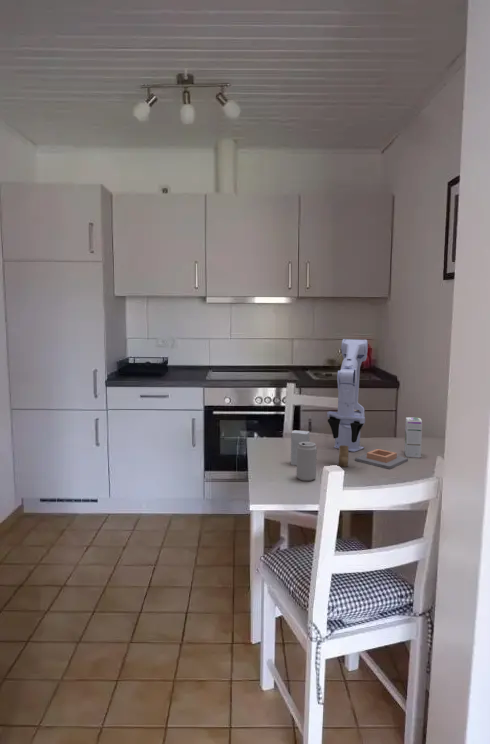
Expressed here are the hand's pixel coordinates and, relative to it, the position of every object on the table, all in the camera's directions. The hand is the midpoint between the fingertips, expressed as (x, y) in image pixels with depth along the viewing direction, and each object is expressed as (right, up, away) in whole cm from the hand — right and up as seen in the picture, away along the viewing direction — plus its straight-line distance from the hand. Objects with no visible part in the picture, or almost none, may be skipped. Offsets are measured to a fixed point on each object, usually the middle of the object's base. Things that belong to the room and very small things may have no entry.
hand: (344, 439), depth 183 cm
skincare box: (-16, -9, +2) cm, 19 cm away
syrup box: (+29, -8, +15) cm, 34 cm away
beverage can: (-15, -11, -13) cm, 23 cm away
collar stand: (+15, -9, +7) cm, 19 cm away
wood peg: (0, -9, +1) cm, 10 cm away
